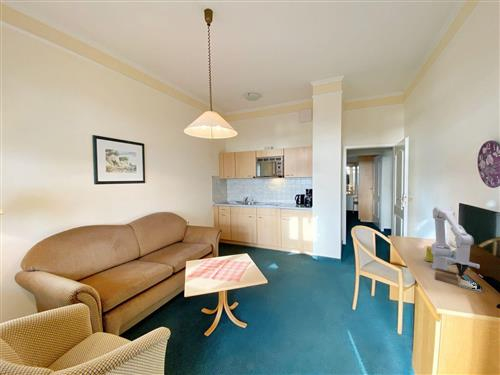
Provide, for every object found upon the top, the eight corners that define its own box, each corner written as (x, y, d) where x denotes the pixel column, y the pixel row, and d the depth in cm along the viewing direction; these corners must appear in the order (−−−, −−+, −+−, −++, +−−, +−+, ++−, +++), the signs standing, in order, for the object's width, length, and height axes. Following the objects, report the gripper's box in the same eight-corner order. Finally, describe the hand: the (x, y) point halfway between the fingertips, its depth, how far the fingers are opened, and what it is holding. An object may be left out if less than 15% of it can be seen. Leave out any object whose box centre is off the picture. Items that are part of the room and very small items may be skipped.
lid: (457, 280, 132) (457, 275, 132) (475, 284, 127) (475, 280, 126) (457, 284, 127) (457, 279, 127) (476, 289, 122) (477, 284, 121)
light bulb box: (450, 264, 155) (451, 250, 154) (439, 261, 161) (440, 247, 160) (457, 262, 159) (458, 248, 158) (446, 259, 165) (447, 246, 164)
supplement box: (425, 258, 165) (426, 245, 164) (435, 261, 161) (436, 247, 160) (425, 261, 160) (426, 247, 159) (436, 263, 157) (437, 249, 156)
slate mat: (456, 278, 134) (457, 278, 134) (478, 284, 128) (478, 284, 128) (458, 286, 125) (458, 285, 125) (481, 292, 119) (481, 292, 119)
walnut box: (435, 273, 140) (435, 267, 140) (456, 279, 134) (456, 272, 133) (435, 279, 133) (435, 272, 133) (457, 285, 126) (457, 278, 126)
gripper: (446, 252, 129) (444, 273, 130) (481, 259, 120) (478, 282, 121) (446, 249, 135) (444, 270, 136) (479, 256, 125) (477, 277, 126)
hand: (460, 275), depth 129 cm, fingers closed
